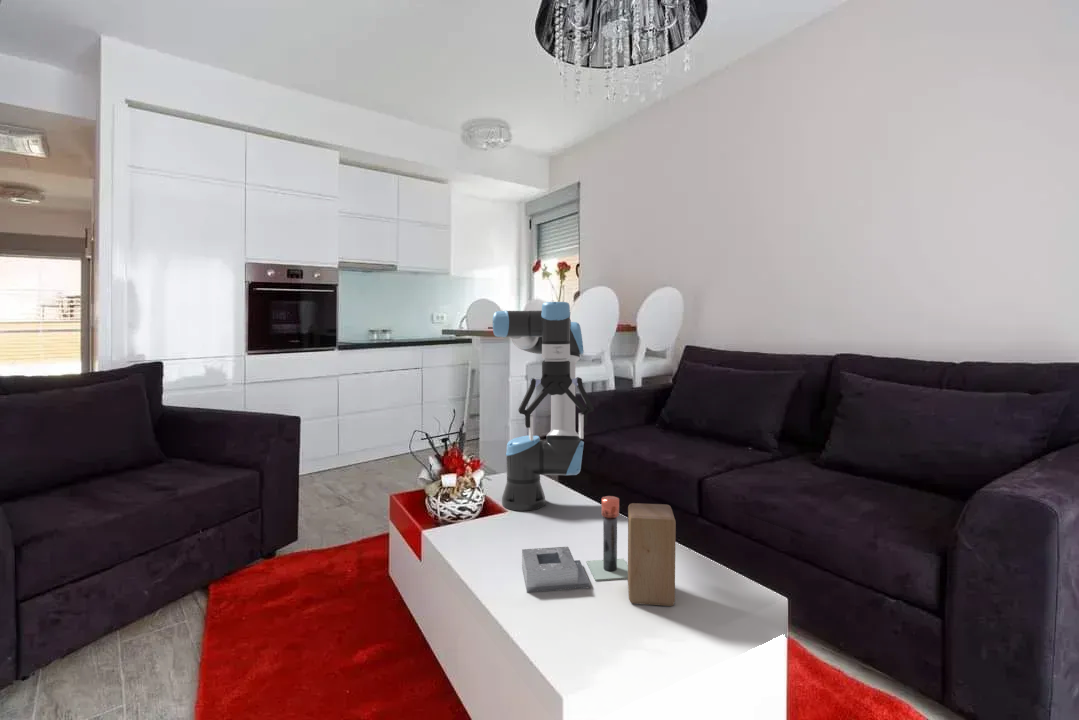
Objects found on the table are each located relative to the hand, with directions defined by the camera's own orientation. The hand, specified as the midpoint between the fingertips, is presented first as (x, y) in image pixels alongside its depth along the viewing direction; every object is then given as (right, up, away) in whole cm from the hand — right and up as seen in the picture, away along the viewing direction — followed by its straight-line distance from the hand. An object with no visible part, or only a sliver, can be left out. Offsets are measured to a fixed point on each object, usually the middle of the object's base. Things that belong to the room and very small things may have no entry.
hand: (556, 438), depth 139 cm
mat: (+13, -32, -8) cm, 36 cm away
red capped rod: (+13, -32, -8) cm, 35 cm away
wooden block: (+21, -33, -20) cm, 44 cm away
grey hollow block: (-1, -32, -12) cm, 35 cm away
